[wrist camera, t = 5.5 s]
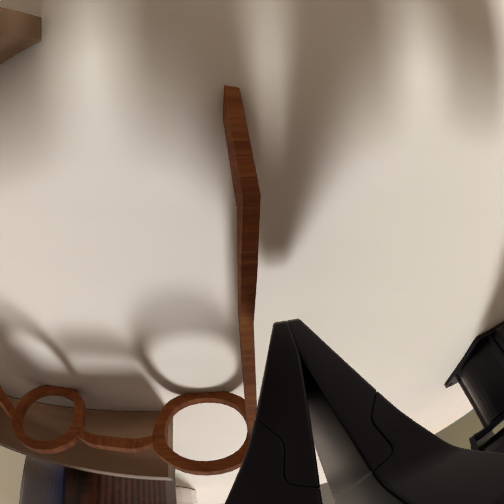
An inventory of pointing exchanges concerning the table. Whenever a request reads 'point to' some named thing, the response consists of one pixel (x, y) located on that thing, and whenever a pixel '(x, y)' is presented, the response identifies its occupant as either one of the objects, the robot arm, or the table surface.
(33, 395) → the glasses
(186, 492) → the white cup
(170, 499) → the coffee grinder
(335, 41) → the table surface
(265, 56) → the table surface
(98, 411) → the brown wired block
